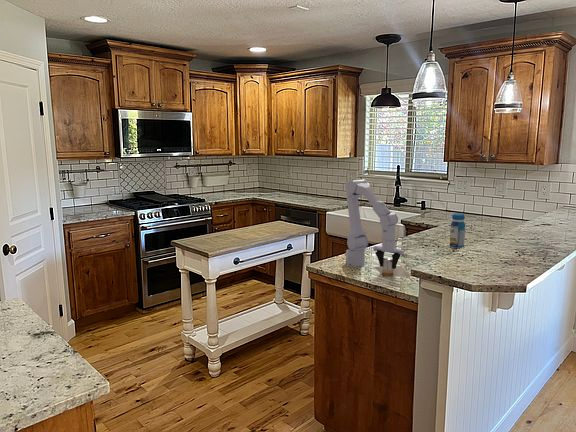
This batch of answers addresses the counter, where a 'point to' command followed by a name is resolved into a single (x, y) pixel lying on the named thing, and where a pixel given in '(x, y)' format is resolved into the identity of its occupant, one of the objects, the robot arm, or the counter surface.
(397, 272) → the board
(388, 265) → the cap
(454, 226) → the beverage bottle
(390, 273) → the jar
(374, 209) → the robot arm
